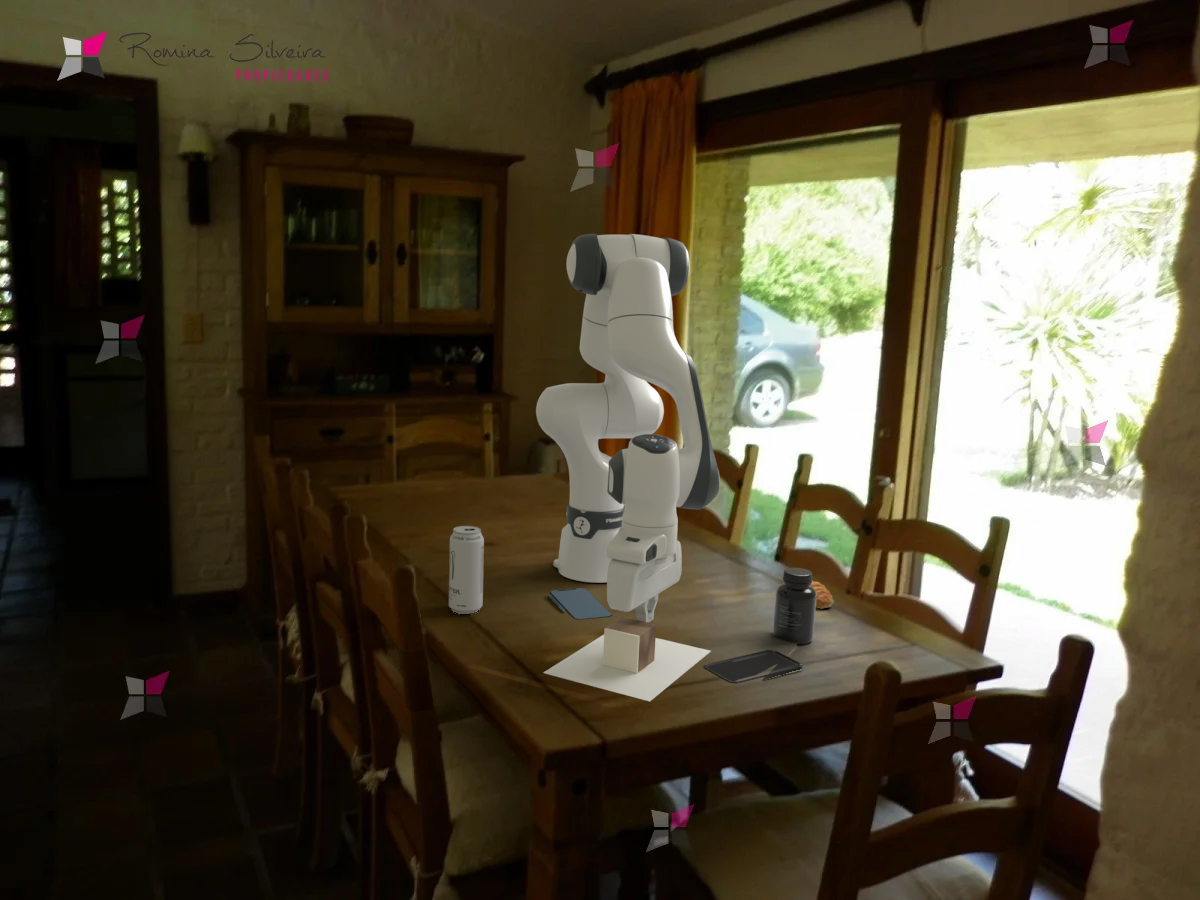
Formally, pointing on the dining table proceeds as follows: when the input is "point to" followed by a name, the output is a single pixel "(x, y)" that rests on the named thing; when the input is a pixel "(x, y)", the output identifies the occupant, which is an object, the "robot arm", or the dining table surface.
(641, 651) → the walnut cube
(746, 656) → the phone
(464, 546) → the energy drink can
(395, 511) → the dining table surface
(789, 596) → the supplement bottle
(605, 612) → the smartphone
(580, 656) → the white mat
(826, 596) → the pastry
